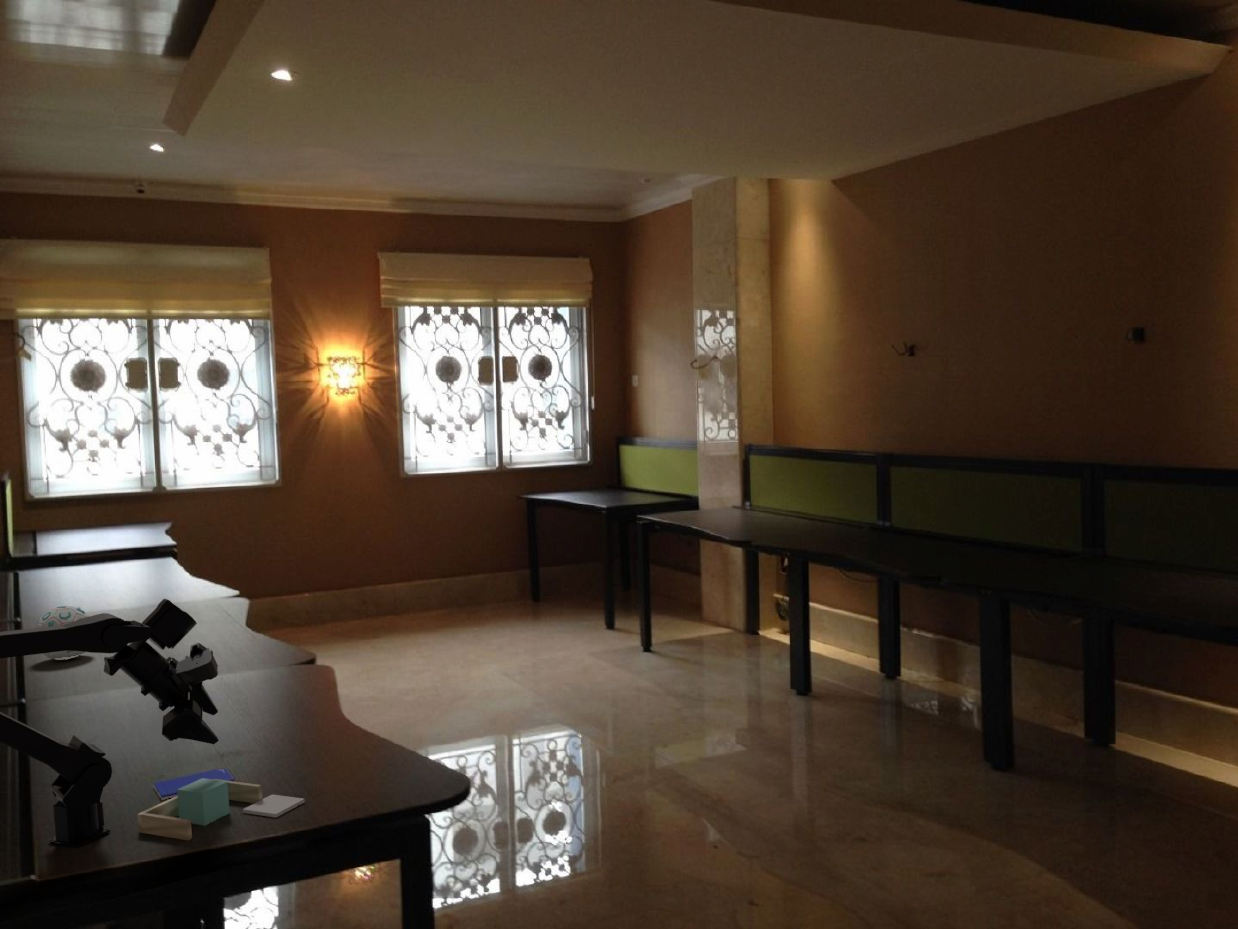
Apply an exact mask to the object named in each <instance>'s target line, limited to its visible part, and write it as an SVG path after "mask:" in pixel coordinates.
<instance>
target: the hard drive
mask: <svg viewBox="0 0 1238 929" xmlns="http://www.w3.org/2000/svg"><path fill="white" fill-rule="evenodd" d="M202 778H205V779H219V780H227V781H234V782H236V781H235V778H234V777H233V776H232V774H231V773H230V772H229V771H228V770H227V768H226V767H220V768H216V769H211V770H208V771H207V770H206V771H202V772H197V773H194V774H189V775H184V776H180V777H176V778H171V779H166V780H162V781H158V782H153V783H152V786H153V789H154V791H155V793H156V794H157V796H158V797H159V799H160V798H161V799H160V800H162V801H166V800H165V799H167V800H169V799H168V798H172V797H176V796H178V794H177V789H180V788H182V787H184V786H186V785H188V784H191V783H193V782H195V781H197V780H199V779H202Z"/></svg>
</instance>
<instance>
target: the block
mask: <svg viewBox="0 0 1238 929" xmlns="http://www.w3.org/2000/svg"><path fill="white" fill-rule="evenodd" d="M177 794H178V807H179V815H178V818H182V819H188V820H191V823H192V824H191V825H197V824H198V825H199V826H204V827H205V826H207V825H209V824H211V823H214V822H215V821H217V820H219V819H221V818H223V817H225V816H227V815H228V814H230V800H229V797H228V783H227V781H220V780H213V779H205V778H202V779H199V780H197V781H195V782H193V783H191V784H188V785H186V786H184V787H182V788H180V789H177ZM222 816H223V817H222ZM220 817H221V818H220ZM218 818H219V819H218ZM216 819H217V820H216ZM210 822H211V823H210ZM193 823H194V824H193Z"/></svg>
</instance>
